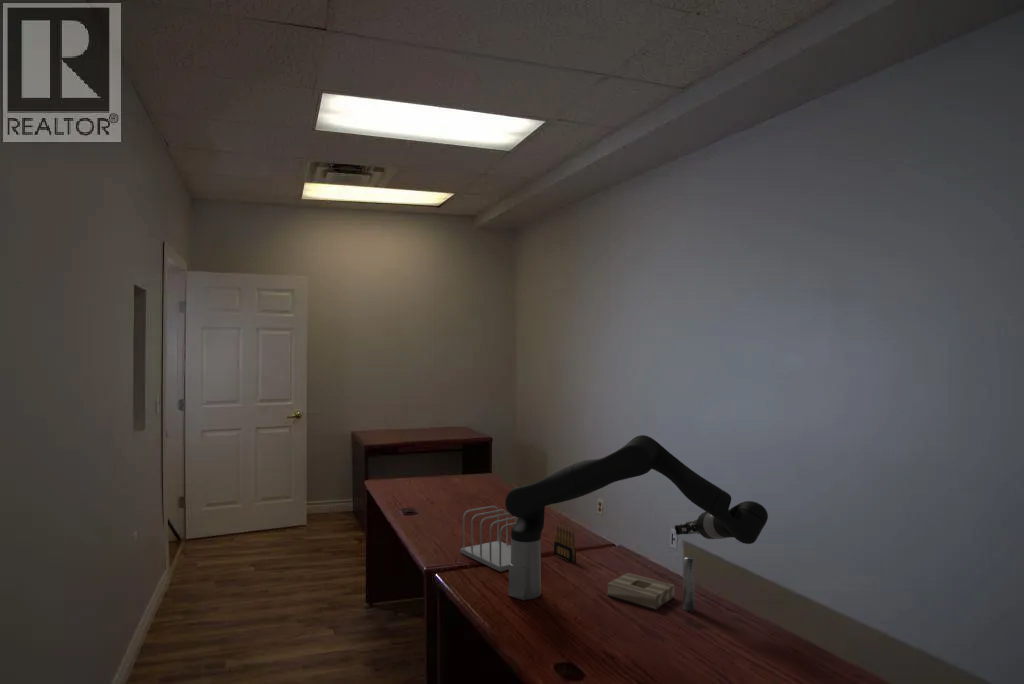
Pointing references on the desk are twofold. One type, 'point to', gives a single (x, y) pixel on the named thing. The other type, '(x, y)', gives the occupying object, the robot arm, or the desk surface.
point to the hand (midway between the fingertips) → (689, 526)
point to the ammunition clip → (565, 543)
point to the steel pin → (689, 583)
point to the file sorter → (490, 543)
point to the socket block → (641, 591)
